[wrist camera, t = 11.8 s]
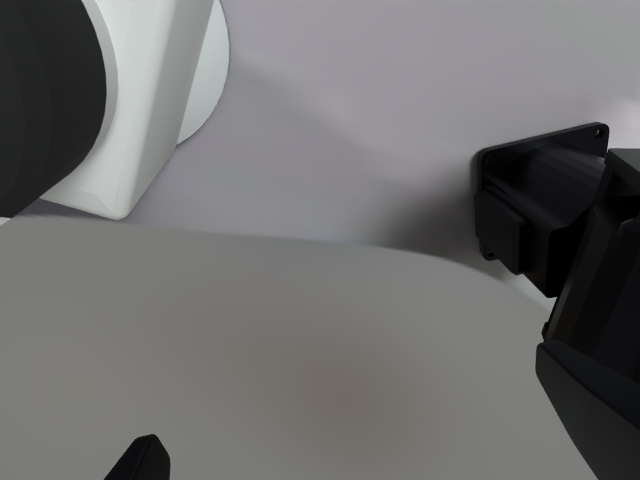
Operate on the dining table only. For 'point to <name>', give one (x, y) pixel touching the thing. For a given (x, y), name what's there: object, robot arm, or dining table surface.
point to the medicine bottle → (92, 98)
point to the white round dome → (208, 73)
